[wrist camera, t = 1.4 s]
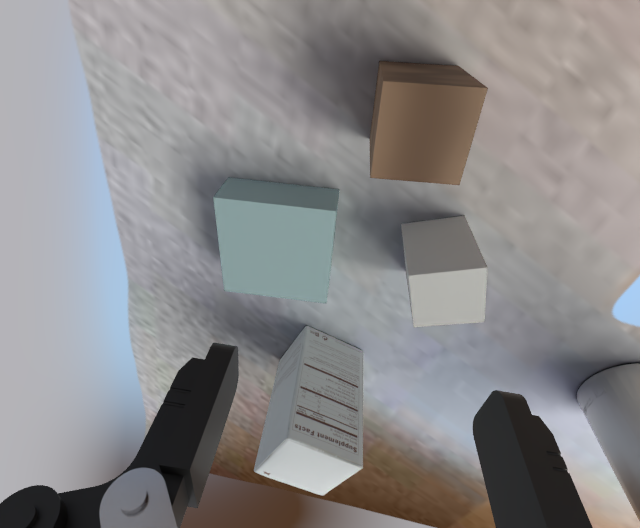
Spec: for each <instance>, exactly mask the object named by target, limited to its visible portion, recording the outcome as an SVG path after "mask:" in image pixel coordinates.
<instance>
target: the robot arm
mask: <svg viewBox="0 0 640 528" xmlns="http://www.w3.org/2000/svg"><path fill="white" fill-rule="evenodd" d="M237 383H238V347H237V346H231V345H225V344H219V343H213V344H212V346H211V347H210V350H209V352H208V354H207V356H206V359H205V360H203V359H197V358H192V359H191V360H189V361H188V362H187V363H186V364H185V365H184V366H183V367H182V368H181V369H180V370H179V371H178V373H177V375H176V377H175V379H174V381H173V383H172V385H171V388H170V391H168V393H167V395H166V397H165V399H164V403H163V404H162V405H161V407H160V409H159V411H158V413H157V415H156V417H155V419H154V421H153V423H152V425H151V427H150V429H149V431H148V433H147V435H146V438H145V440H144V442H143V444H142V446H141V448H140V450H139V452H138V454H137V456H136V458H135V459H134V461H133V462H132V463H131V465H130V466H129V467H128V468H127V469H126V470H125V471H124V472H123V473H122V474H120V475H119V476H118V477H116V478H115V479H113V480H111V481H109V482H107V483H105V484H102V485H99V486H95V487H90V488H85V489H79V490H75V491H69V492H64V493H59V494H57V492H56V491H55V490H53V489H52V488H50V487H48V486H43V485H42V486H41V485H40V486H39V485H37V486H31V487H28V488H24V489H22V490H20V491H18V492H16V493H14V494H12V495H11V496H9V497H8V498H7V499H5V500H4V501H3V502H2V503H1V504H0V528H180V526H181V523H182V520H183V517H184V514H185V511H186V509H187V506H188V507H194V508H198V505H199V502H200V499H201V496H202V493H203V490H204V487H205V484H206V481H207V478H208V475H209V472H210V469H211V466H212V463H213V460H214V457H215V454H216V451H217V447H218V444H219V441H220V438H221V435H222V432H223V429H224V426H225V423H226V420H227V417H228V414H229V411H230V408H231V405H232V402H233V399H234V395H235V392H236V388H237ZM576 397H577V401H578V403H579V405H580V407H581V409H582V411H583V413H584V415H585V417H586V419H587V421H588V423H589V424H590V426H591V428H592V430H593V432H594V434H595V436H596V438H597V440H598V442H599V444H600V446H601V448H602V450H603V452H604V454H605V456H606V457H607V459H608V461H609V463H610V465H611V467H612V469H613V471H614V473H615V475H616V477H617V479H618V481H619V482H620V484H621V486H622V488H623V490H624V492H625V494H626V496H627V498H628V500H629V502H630V504H631V506H632V507H633V509H634V511H635V513H636V515H637V517H638V519H639V521H640V363H638V364H627V365H621V366H617V367H613V368H610V369H607V370H604V371H602V372H600V373H598V374H596V375H594V376H592V377H591V378H589V379H588V380H586V381H585V382H584V383H583V384H582V385H581V386H580V388H579V390H578V391H577V396H576ZM473 435H474V440H475V444H476V448H477V452H478V456H479V460H480V464H481V468H482V472H483V477H484V481H485V485H486V489H487V493H488V497H489V501H490V505H491V509H492V513H493V517H494V522H495V526H496V528H592V525H591V523H590V521H589V518H588V516H587V514H586V511H585V509H584V507H583V504H582V502H581V500H580V497H579V495H578V492H577V490H576V488H575V485H574V483H573V481H572V478H571V476H570V474H569V473H568V472H567V467H566V464H565V462H564V460H563V457H561V456H560V454H561V452H560V450H559V448H558V445H557V443H556V441H555V438H554V436H553V434H552V433H551V431H550V430H549V429H548V427H547V426H546V425H545V424H544V422H543V421H542V420H541V418H540V417H539V416H535V415H532V414H531V411H530V409H529V406H528V404H527V402H526V400H525V398H524V397H523V396H522V395H520V394H515V393H508V392H502V391H493V392H492V393H491V394H490V396H489V397H488V399H487V400H486V401H485V403H484V404H483V406H482V407H481V408H480V410H479V411H478V412H477V414H476V415H475V417H474V421H473Z"/></svg>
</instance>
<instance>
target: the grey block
mask: <svg viewBox="0 0 640 528" xmlns="http://www.w3.org/2000/svg"><path fill="white" fill-rule="evenodd" d="M401 229H402V239H403V248H404V258H405V268H406V276H407V283H408V290H409V297H410V304H411V312H412V319H413V326H414V327H426V326H439V325H453V324H466V323H480V322H484V320H485V303H486V285H487V265H486V263H485V261H484V259H483V256H482V254H481V252H480V249H479V247H478V245H477V243H476V240H475V238H474V236H473V234H472V231H471V229H470V227H469V225H468V222H467V220H466V218H465V216H456V217H449V218H442V219H434V220H427V221H419V222H412V223H404V224H401Z"/></svg>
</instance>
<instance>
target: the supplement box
mask: <svg viewBox="0 0 640 528" xmlns="http://www.w3.org/2000/svg"><path fill="white" fill-rule="evenodd" d="M362 468H363V351H361V350H360V349H358V348H356V347H354V346H352V345H349V344H347V343H345V342H343V341H341V340H338V339H336V338H334V337H332V336H330V335H327V334H325V333H323V332H321V331H318V330H316V329H314V328H312V327H309V326H305V328H304V329H303V330H302V331H301V333H300V334H299V335H298V337H297V338H296V339H295V341H294V342H293V343H292V345H291V346H290V347H289V349H288V350H287V351H286V353H285V354H284V355H283V357H282V358H281V359H280V360H279V365H278V369H277V373H276V377H275V382H274V386H273V390H272V395H271V399H270V403H269V408H268V412H267V416H266V420H265V425H264V429H263V433H262V438H261V442H260V446H259V450H258V455H257V459H256V463H255V468H254V472H256V473H258V474H261V475H263V476H266V477H268V478H271V479H274V480H277V481H280V482H283V483H286V484H289V485H292V486H295V487H298V488H301V489H304V490H307V491H310V492H312V493H316V494H319V495H324V494H326V493H327V492H329V491H330V490H331V489H333V488H334V487H336V486H337V485H339V484H340V483H342V482H343V481H345V480H346V479H347V478H349V477H350V476H352V475H353V474H355V473H356V472H358V471H359V470H361V469H362Z"/></svg>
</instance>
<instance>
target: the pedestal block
mask: <svg viewBox="0 0 640 528" xmlns="http://www.w3.org/2000/svg"><path fill="white" fill-rule="evenodd" d="M338 199H339V189H330V188H321V187H312V186H303V185H294V184H285V183H276V182H267V181H257V180H248V179H239V178H230V177H229V178H228V179H227V180H226V181H225V183H224V184H223V185H222V187H221V188H220V189H219V191H218V192H217V193H216V194H215V196H214V197H213V200H214V209H215V217H216V226H217V234H218V243H219V251H220V260H221V268H222V277H223V285H224V291H228V292H237V293H245V294H253V295H261V296H269V297H277V298H285V299H294V300H302V301H310V302H318V303H326V302H327V295H328V287H329V280H330V271H331V262H332V253H333V244H334V235H335V226H336V217H337V208H338Z"/></svg>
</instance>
